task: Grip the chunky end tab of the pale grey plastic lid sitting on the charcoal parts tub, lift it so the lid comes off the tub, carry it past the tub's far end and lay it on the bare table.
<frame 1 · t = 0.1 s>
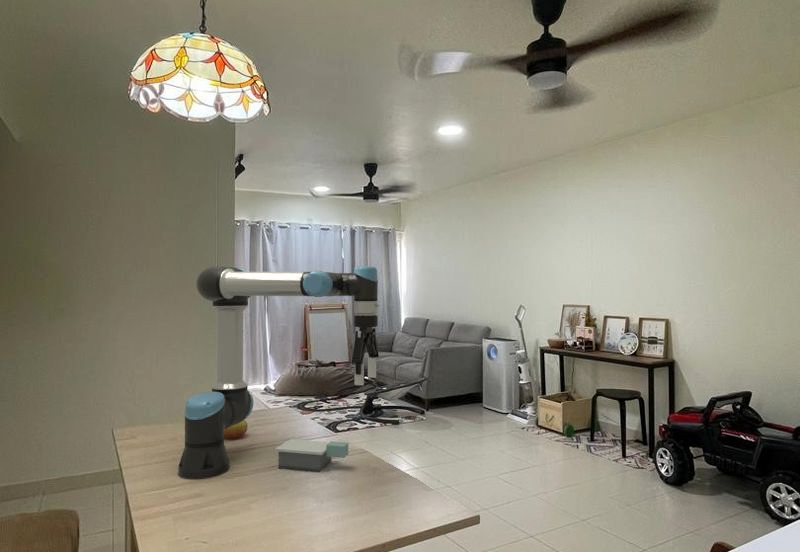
hand: (365, 381, 159), 28 cm above the table, fingers open, 13 cm apart
lid: (305, 447, 161), point 5 cm above the table, touching tub
tub: (305, 465, 161), on the table
apple: (233, 438, 191), on the table
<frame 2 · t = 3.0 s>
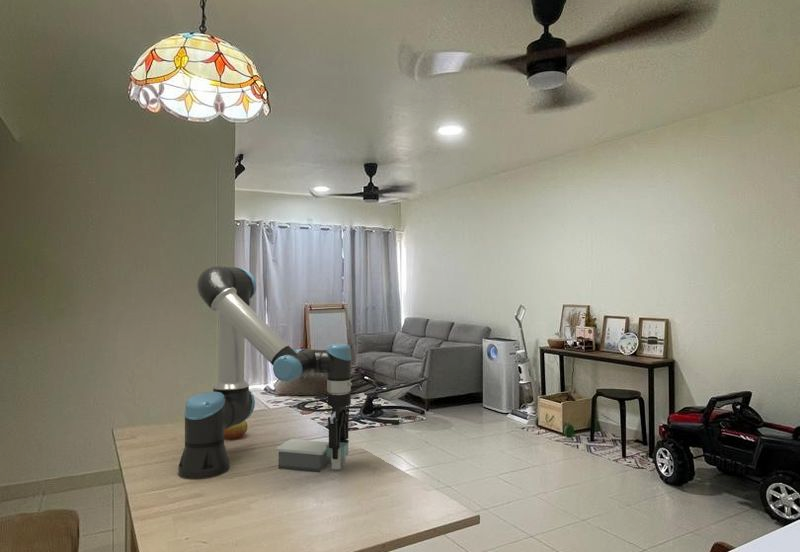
hand: (338, 466, 158), 1 cm above the table, fingers closed on lid, 4 cm apart
lid: (305, 447, 161), point 6 cm above the table, touching gripper, tub
everything else where it was.
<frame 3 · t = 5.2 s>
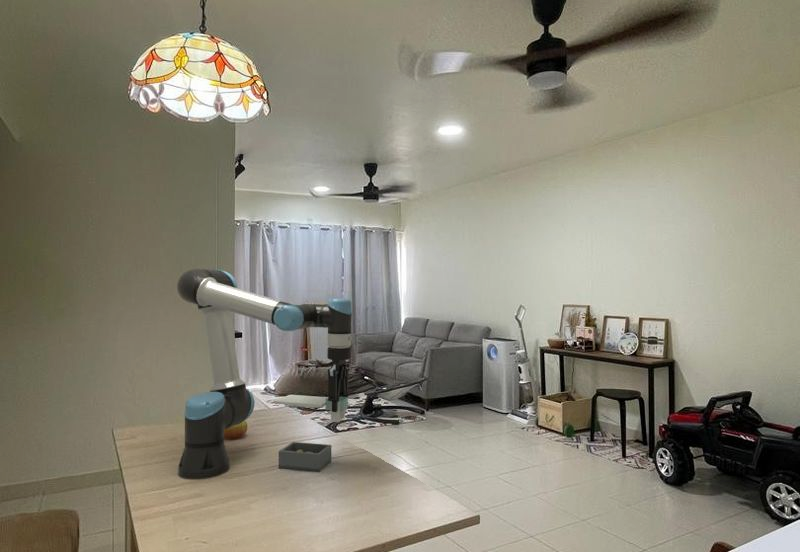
hand: (337, 419, 159), 15 cm above the table, fingers closed on lid, 4 cm apart
lid: (305, 401, 162), point 20 cm above the table, touching gripper
everything else where it was.
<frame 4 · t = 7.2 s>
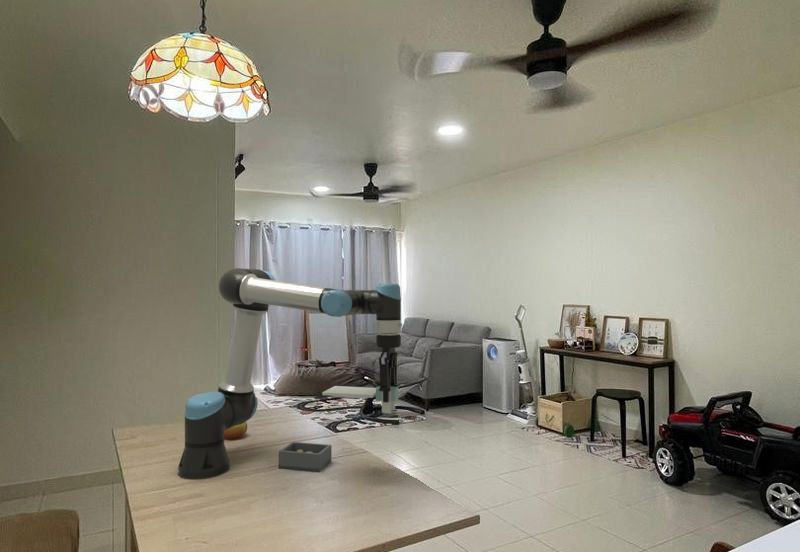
hand: (388, 410, 151), 20 cm above the table, fingers closed on lid, 4 cm apart
lid: (352, 392, 154), point 25 cm above the table, touching gripper
everything else where it was.
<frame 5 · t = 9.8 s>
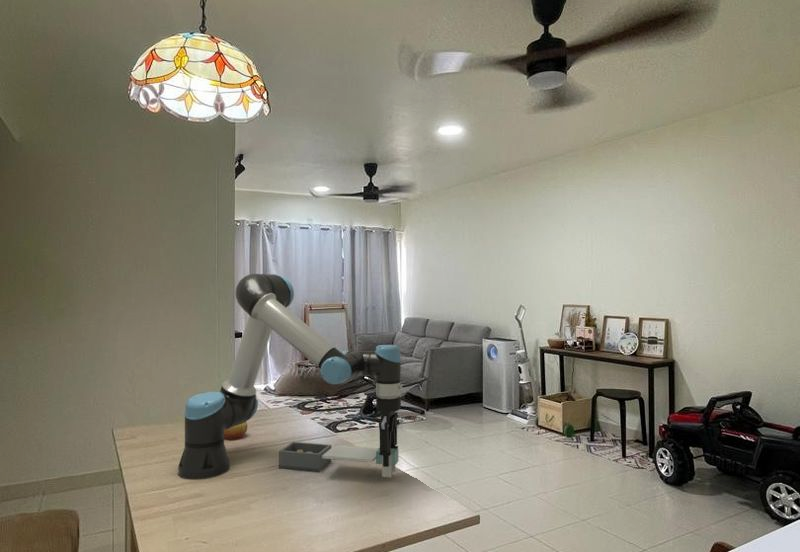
hand: (388, 473, 150), 1 cm above the table, fingers closed on lid, 4 cm apart
lid: (353, 454, 153), point 6 cm above the table, touching gripper
everything else where it was.
when the fingers open (0 cm above the table, at t = 11.6 s): lid drops 4 cm, point 1 cm above the table.
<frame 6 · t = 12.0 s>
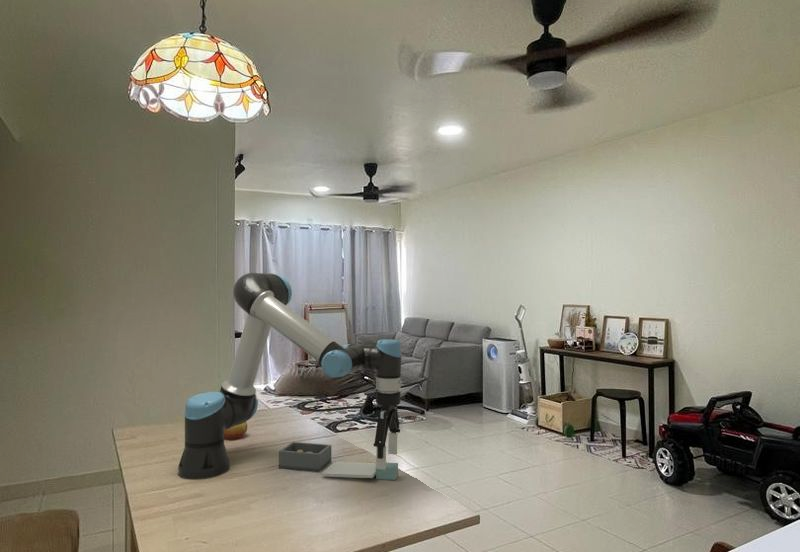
hand: (387, 461, 151), 5 cm above the table, fingers open, 13 cm apart
lid: (352, 470, 153), point 1 cm above the table
everything else where it was.
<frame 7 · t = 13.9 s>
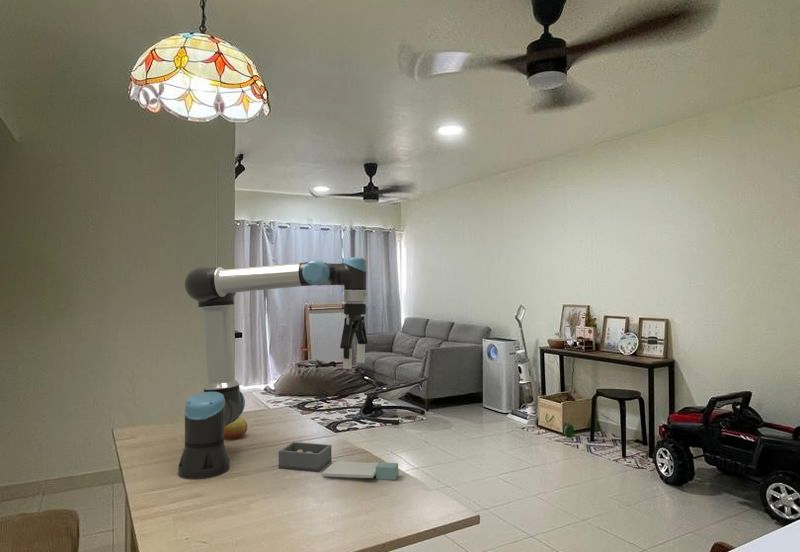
hand: (354, 365, 168), 31 cm above the table, fingers open, 13 cm apart
nothing on the table moved.
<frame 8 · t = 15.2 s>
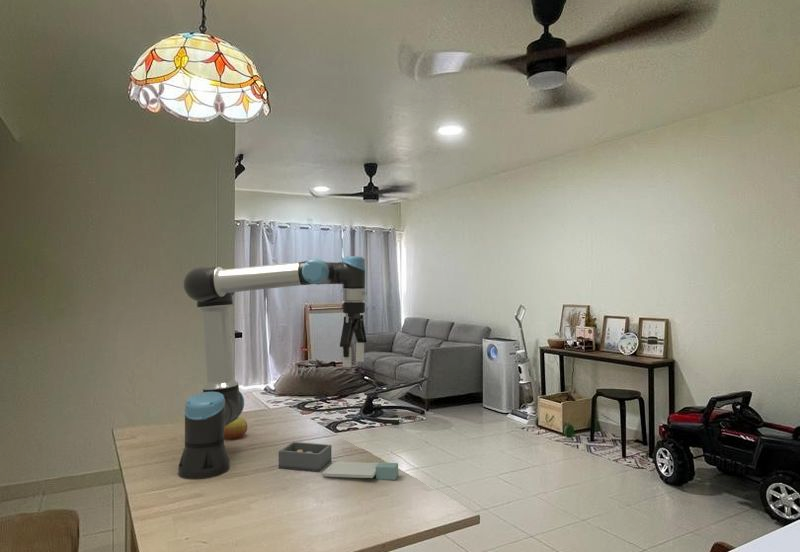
hand: (353, 364, 169), 32 cm above the table, fingers open, 13 cm apart
nothing on the table moved.
at the end: lid inside the target area (2.0 cm from its centre), point 1.1 cm above the table; lid touching table; the gripper is holding nothing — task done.
